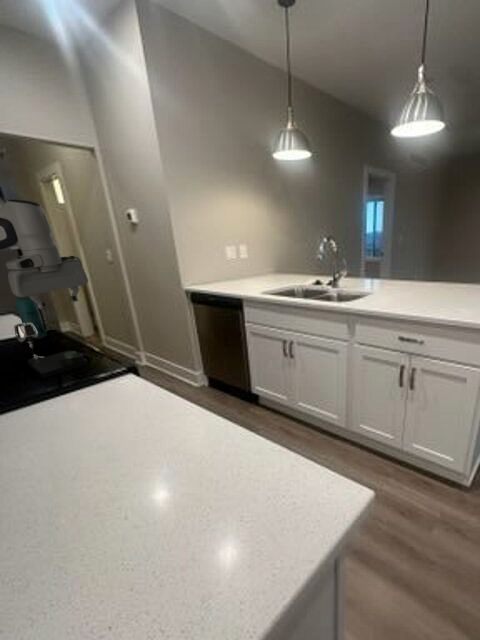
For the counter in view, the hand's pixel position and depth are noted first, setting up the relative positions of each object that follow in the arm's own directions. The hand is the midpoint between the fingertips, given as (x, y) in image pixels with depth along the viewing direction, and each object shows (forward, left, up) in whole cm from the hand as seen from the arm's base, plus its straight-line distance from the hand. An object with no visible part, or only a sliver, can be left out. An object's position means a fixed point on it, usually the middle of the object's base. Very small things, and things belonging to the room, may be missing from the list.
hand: (59, 304), depth 107 cm
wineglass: (-9, +11, -18) cm, 22 cm away
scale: (-6, -2, -18) cm, 19 cm away
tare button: (-3, -7, -15) cm, 17 cm away
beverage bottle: (-2, +35, -18) cm, 39 cm away
